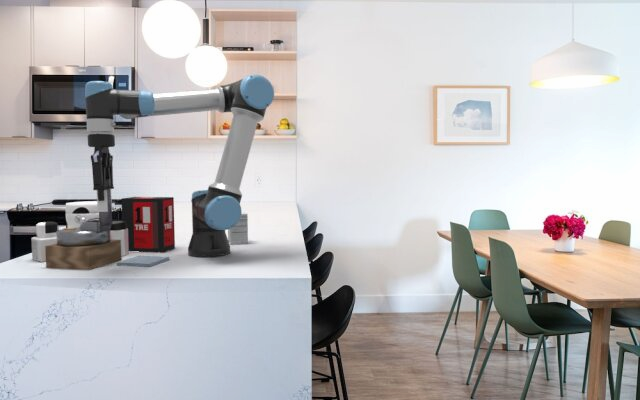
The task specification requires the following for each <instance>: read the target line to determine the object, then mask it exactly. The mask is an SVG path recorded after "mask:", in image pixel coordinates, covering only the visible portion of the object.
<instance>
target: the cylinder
mask: <svg viewBox="0 0 640 400" xmlns="http://www.w3.org/2000/svg"><path fill="white" fill-rule="evenodd" d="M105 188H106V189H105V190H107V205H108V212H99V224H100V226H107V225H112V221H113V212H112V211H113V207H112V208H111V198H112V189H110V179H105Z"/></svg>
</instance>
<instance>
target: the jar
mask: <svg viewBox="0 0 640 400" xmlns="http://www.w3.org/2000/svg"><path fill="white" fill-rule="evenodd" d="M110 239H111V240H121V257H125V256H127V255H128V254H130V252H129V245H128V228H127V222H126V221H122V220H112V225H111V229H110Z"/></svg>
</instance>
